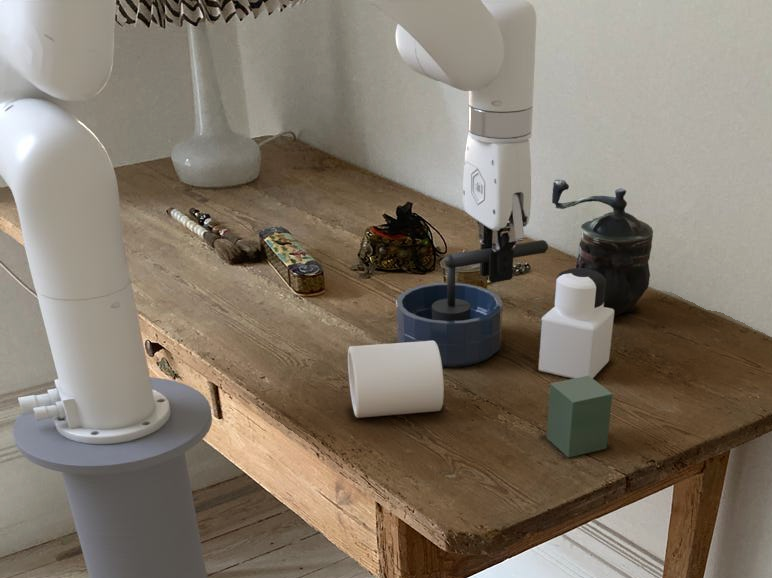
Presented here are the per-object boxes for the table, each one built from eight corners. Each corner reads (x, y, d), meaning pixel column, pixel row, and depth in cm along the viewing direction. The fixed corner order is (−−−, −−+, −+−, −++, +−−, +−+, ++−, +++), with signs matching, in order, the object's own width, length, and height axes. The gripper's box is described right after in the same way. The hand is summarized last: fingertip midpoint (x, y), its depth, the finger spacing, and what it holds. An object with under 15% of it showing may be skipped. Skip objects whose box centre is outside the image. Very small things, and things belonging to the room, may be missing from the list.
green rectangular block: (568, 457, 114) (573, 402, 109) (546, 437, 117) (550, 383, 113) (606, 448, 115) (612, 393, 111) (583, 429, 119) (588, 375, 115)
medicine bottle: (558, 350, 135) (565, 259, 128) (609, 362, 133) (619, 269, 125) (537, 371, 130) (543, 277, 123) (589, 383, 128) (598, 288, 120)
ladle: (441, 329, 131) (441, 264, 126) (425, 315, 134) (424, 251, 129) (553, 308, 137) (557, 245, 131) (535, 295, 140) (538, 233, 135)
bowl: (423, 376, 129) (422, 330, 125) (381, 335, 138) (380, 291, 134) (518, 357, 133) (521, 312, 130) (472, 319, 143) (473, 276, 139)
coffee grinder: (530, 303, 148) (537, 170, 136) (620, 290, 152) (635, 161, 141) (569, 337, 139) (581, 198, 127) (664, 323, 143) (683, 187, 132)
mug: (444, 423, 119) (444, 357, 114) (358, 430, 117) (354, 364, 112) (425, 378, 128) (424, 316, 123) (345, 384, 126) (341, 321, 121)
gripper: (443, 110, 125) (444, 261, 137) (502, 141, 114) (498, 303, 126) (497, 104, 128) (494, 253, 140) (561, 135, 117) (551, 294, 129)
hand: (496, 276), depth 133 cm, fingers closed on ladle
